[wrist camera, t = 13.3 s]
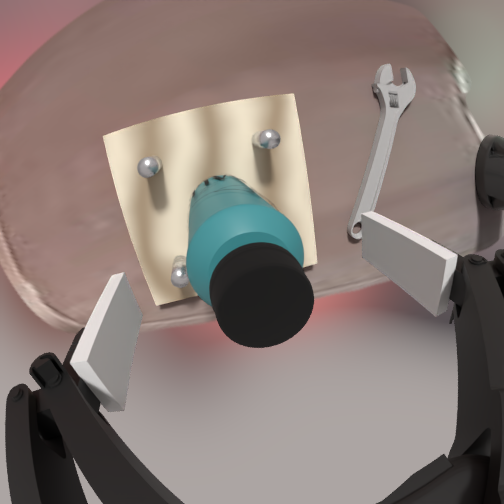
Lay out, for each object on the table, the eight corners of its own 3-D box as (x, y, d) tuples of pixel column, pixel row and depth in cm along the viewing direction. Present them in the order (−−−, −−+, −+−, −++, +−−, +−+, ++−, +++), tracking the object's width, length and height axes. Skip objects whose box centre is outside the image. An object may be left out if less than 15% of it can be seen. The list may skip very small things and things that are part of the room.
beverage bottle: (233, 241, 30) (292, 386, 12) (177, 216, 28) (155, 350, 10) (262, 188, 29) (377, 274, 10) (206, 159, 26) (234, 195, 8)
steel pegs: (267, 129, 26) (278, 128, 23) (285, 243, 32) (298, 257, 28) (143, 158, 25) (135, 160, 21) (175, 272, 30) (174, 289, 26)
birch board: (288, 95, 27) (293, 93, 25) (312, 258, 35) (317, 263, 33) (107, 136, 24) (103, 136, 23) (157, 299, 32) (156, 305, 31)
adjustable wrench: (357, 237, 36) (364, 242, 34) (319, 224, 34) (325, 228, 32) (411, 80, 28) (419, 79, 27) (378, 55, 26) (386, 52, 25)
